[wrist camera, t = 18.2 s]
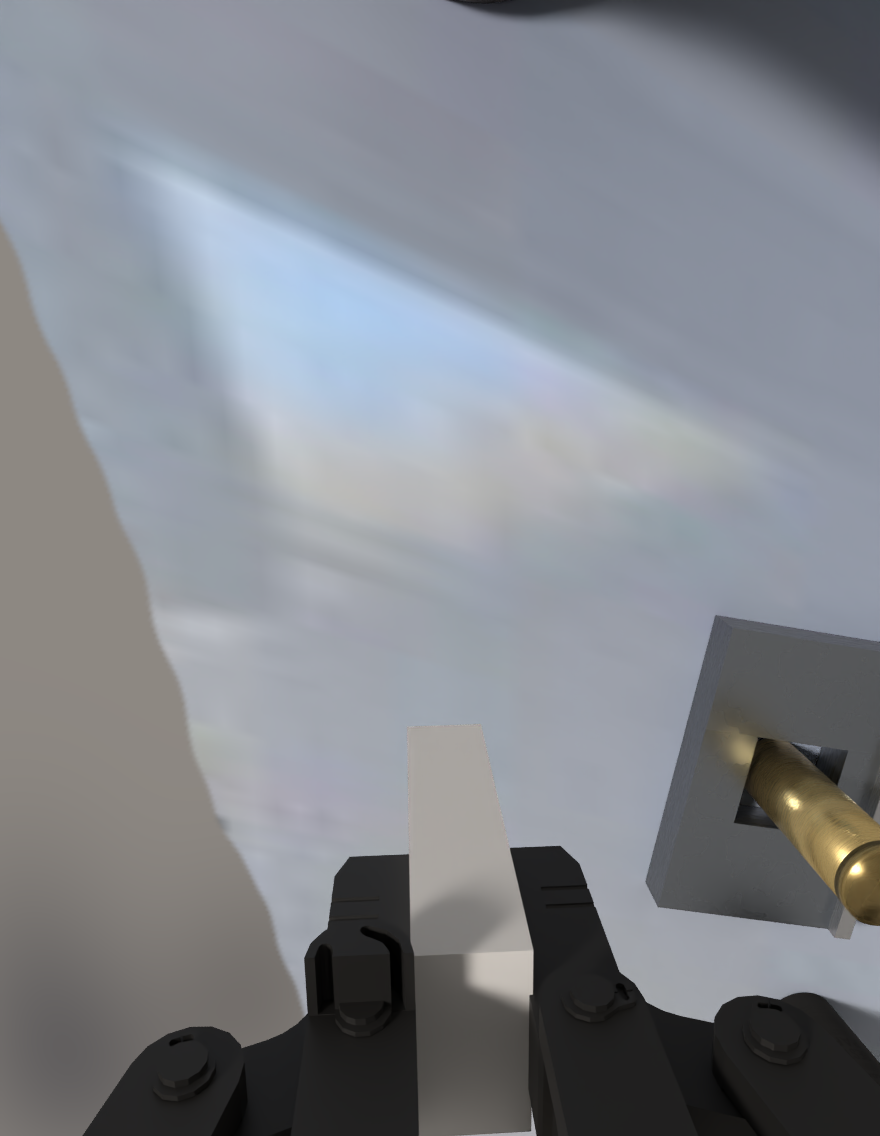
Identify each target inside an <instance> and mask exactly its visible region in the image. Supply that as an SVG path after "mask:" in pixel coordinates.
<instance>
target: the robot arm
mask: <svg viewBox="0 0 880 1136" xmlns="http://www.w3.org/2000/svg"><path fill="white" fill-rule="evenodd" d="M459 1H465V2H474V3H495V2H504V1H511V0H459ZM407 749H408V812H409V854H406V855H382V856H358V857H349V859H348V860H347V861H346V862H345V864H344V865H343V866H342V868H341V869H340V870H339V872H338V873H337V874H336V875H335V878H334V886H333V893H332V903H331V908H330V915H329V922H328V929H327V930H325V931H324V932H323V933H321V934H320V935H319V936H318V937H317V938H316V939H315V940H314V941H313V942H312V943H311V944H310V946H309V949H308V951H307V953H306V955H305V958H304V961H305V977H306V992H307V1008H308V1014H307V1015H306V1016H305V1017H304V1018H303V1019H302V1020H301V1021H300V1022H299V1023H298V1024H297V1025H295V1026H294V1027H292V1028H290V1029H289V1030H288V1031H286V1032H284V1033H283V1034H280V1035H278V1036H276V1037H273V1038H271V1039H269V1040H266V1041H263V1042H260V1043H257V1044H254V1045H251V1046H248V1047H245V1048H242V1049H241V1045H240V1044H239V1043H238V1042H237V1041H236V1040H235V1038H234V1037H233V1036H232V1035H231V1034H230V1033H228V1032H225V1031H223V1030H220V1029H217V1028H214V1027H189V1028H186V1029H182V1030H179V1031H176V1032H173V1033H170V1034H167V1035H166V1036H164V1037H162V1038H161V1039H159V1040H157V1041H156V1042H154V1043H153V1044H151V1045H149V1046H148V1047H147V1048H146V1049H145V1050H144V1051H143V1052H142V1053H141V1054H140V1055H139V1056H138V1057H137V1058H136V1059H135V1061H134V1062H133V1063H132V1064H131V1065H130V1067H129V1068H128V1070H127V1071H126V1073H125V1074H124V1076H123V1077H122V1078H121V1080H120V1081H119V1083H118V1084H117V1086H116V1087H115V1089H114V1090H113V1092H112V1093H111V1095H110V1096H109V1098H108V1099H107V1101H106V1102H105V1103H104V1105H103V1106H102V1108H101V1109H100V1111H99V1112H98V1114H97V1115H96V1117H95V1118H94V1120H93V1121H92V1123H91V1124H90V1126H89V1127H88V1129H87V1130H86V1131H85V1133H84V1135H83V1136H457V1135H475V1134H493V1133H510V1132H528V1131H531V1107H532V1112H533V1118H534V1123H535V1129H536V1134H537V1136H880V1086H879V1085H878V1084H877V1083H876V1082H875V1081H874V1080H873V1079H872V1078H871V1077H870V1076H869V1075H868V1073H867V1072H866V1071H865V1070H864V1069H863V1068H862V1067H861V1066H860V1065H859V1064H858V1063H857V1062H856V1061H855V1060H854V1059H853V1058H852V1057H851V1056H850V1055H849V1054H848V1053H847V1052H846V1051H845V1050H844V1049H843V1048H842V1047H841V1046H840V1045H839V1044H838V1042H837V1041H836V1040H835V1039H834V1038H833V1037H832V1036H831V1035H830V1034H829V1033H828V1032H827V1031H826V1030H825V1029H824V1028H823V1027H822V1026H821V1025H820V1024H819V1023H818V1022H816V1021H815V1020H814V1019H812V1018H811V1017H810V1016H809V1015H807V1014H806V1013H805V1012H804V1011H802V1010H801V1009H798V1008H796V1007H794V1006H792V1005H790V1004H788V1003H785V1002H783V1001H781V1000H778V999H773V998H768V997H763V996H758V995H757V996H745V997H737V998H735V999H733V1000H731V1001H729V1002H727V1003H725V1004H723V1005H722V1006H721V1008H720V1010H719V1011H718V1013H717V1014H716V1016H715V1019H714V1023H711V1022H706V1021H701V1020H697V1019H692V1018H687V1017H682V1016H679V1015H675V1014H672V1013H669V1012H665V1011H663V1010H661V1009H658V1008H656V1007H654V1006H652V1005H650V1004H648V1003H647V1002H646V1001H645V999H644V997H643V996H642V994H641V993H640V991H639V990H638V988H637V987H636V985H635V983H633V982H632V981H631V980H629V979H628V978H627V977H625V976H624V975H623V974H621V973H620V972H619V970H618V967H617V964H616V961H615V959H614V956H613V953H612V951H611V948H610V945H609V943H608V940H607V937H606V934H605V932H604V929H603V926H602V924H601V921H600V918H599V916H598V913H597V910H596V908H595V907H594V902H593V899H592V897H591V894H590V891H589V889H587V883H586V881H585V878H584V875H583V872H582V870H581V867H580V864H579V863H578V862H577V861H576V860H575V859H574V858H573V857H572V856H571V855H569V854H568V853H567V852H566V851H565V850H564V849H563V848H562V847H561V846H545V847H521V848H509V843H508V839H507V835H506V830H505V826H504V822H503V817H502V813H501V809H500V805H499V800H498V796H497V792H496V787H495V783H494V779H493V775H492V770H491V766H490V762H489V757H488V753H487V749H486V744H485V740H484V736H483V732H482V727H481V724H473V725H444V726H415V727H407Z"/></svg>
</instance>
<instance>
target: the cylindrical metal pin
mask: <svg viewBox="0 0 880 1136" xmlns="http://www.w3.org/2000/svg"><path fill="white" fill-rule="evenodd" d="M744 788H745V789H746V790H747V792H748V793H749V794H750V795H751V796H752V797H753V799H754V800H755V801H756V802H757V803H758V805H759V806H760V807H761V808H762V809H763V810H764V812H765V813H766V814H767V815H768V816H769V817H770V819H771V820H772V821H773V822H774V823H775V824H776V826H777V827H778V828H779V829H780V830H781V831H782V833H783V834H784V835H785V836H786V837H787V839H788V840H789V841H790V842H791V843H792V844H793V846H794V847H795V848H796V849H797V850H798V851H799V853H800V854H801V855H802V856H803V857H804V858H805V860H806V861H807V862H808V863H809V864H810V865H811V867H812V868H813V869H814V870H815V871H816V873H817V874H818V875H819V876H820V877H821V878H822V880H823V881H824V882H825V883H826V884H827V885H828V887H829V888H830V889H831V890H832V891H833V892H834V894H835V895H836V896H837V897H838V899H839V901H840V902H841V903H842V905H843V906H844V907H845V908H846V909H847V910H848V912H849V913H850V914H851V915H852V916H853V917H854V918H855V919H857V920H858V921H860V922H862V923H865V924H868V925H874V926H880V825H879V824H878V823H877V822H876V821H875V820H874V819H873V818H871V817H870V816H869V815H868V814H867V813H866V812H865V811H864V810H863V809H862V808H861V807H860V806H858V805H857V804H856V803H855V802H854V801H853V800H852V799H851V798H850V797H849V796H848V795H846V794H845V793H844V792H843V791H842V790H841V789H840V788H839V787H838V786H837V785H836V784H835V783H833V782H832V781H831V780H830V779H829V778H828V777H827V776H826V775H825V774H824V773H823V772H821V771H820V770H819V769H818V768H817V767H816V766H815V765H814V764H813V763H812V762H811V761H809V760H808V759H807V758H806V757H805V756H804V755H803V754H802V753H801V752H800V751H799V750H798V749H796V748H795V747H794V746H793V745H792V744H791V743H789V742H787V741H781V740H774V739H764V740H761V741H759V742H757V743H756V747H755V750H754V754H753V757H752V761H751V764H750V768H749V771H748V775H747V778H746V782H745V785H744Z"/></svg>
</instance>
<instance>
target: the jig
mask: <svg viewBox="0 0 880 1136" xmlns="http://www.w3.org/2000/svg"><path fill="white" fill-rule="evenodd" d="M758 737H761V738H768V739H774V740H781V741H788V742H794V743H801V744H808V745H814V746H821V751H820V754H819V757H818V760H817V764H816V767H817V768H818V769H819V770H820V771H821V772H823V773H824V774H825V775H826V776H827V777H828V778H829V779H830V780H831V781H832V782H833V783H835V784H836V785H837V786H838V787H839V788H840V789H841V790H842V791H843V792H844V793H845V794H846V795H848V796H849V797H850V798H851V799H852V800H853V801H854V802H855V803H856V804H857V805H858V806H860V807H861V808H862V809H863V810H864V811H865V812H866V813H867V814H868V815H869V816H870V817H871V818H873V819H874V820H875V821H876V822H877V823H878V824H879V825H880V642H876V641H870V640H864V639H857V638H851V637H845V636H839V635H833V634H827V633H821V632H815V631H809V630H802V629H796V628H790V627H784V626H778V625H772V624H766V623H760V622H754V621H747V620H741V619H735V618H729V617H723V616H717V615H716V616H715V620H714V623H713V627H712V631H711V635H710V639H709V642H708V646H707V650H706V654H705V658H704V661H703V665H702V669H701V673H700V677H699V680H698V684H697V688H696V692H695V696H694V699H693V703H692V707H691V711H690V715H689V718H688V722H687V726H686V730H685V734H684V737H683V741H682V745H681V749H680V753H679V756H678V760H677V764H676V768H675V772H674V775H673V779H672V783H671V787H670V791H669V794H668V798H667V802H666V806H665V810H664V813H663V817H662V821H661V825H660V829H659V832H658V836H657V840H656V844H655V848H654V851H653V855H652V859H651V863H650V867H649V870H648V874H647V878H646V884H647V886H648V888H649V890H650V892H651V894H652V896H653V898H654V900H655V902H656V904H657V906H658V907H662V908H670V909H677V910H685V911H693V912H701V913H709V914H716V915H724V916H732V917H740V918H747V919H755V920H763V921H771V922H779V923H786V924H794V925H802V926H810V927H817V928H825V929H828V930H829V931H830V933H831V934H832V935H833V936H834V938H842V939H850V937H851V934H852V931H853V928H854V925H855V922H856V919H855V918H854V917H853V916H852V915H851V914H850V913H849V912H848V910H847V909H846V908H845V907H844V906H843V905H842V903H841V902H840V901H839V899H838V897H837V896H836V895H835V894H834V892H833V891H832V890H831V889H830V888H829V887H828V885H827V884H826V883H825V882H824V881H823V880H822V878H821V877H820V876H819V875H818V874H817V873H816V871H815V870H814V869H813V868H812V867H811V865H810V864H809V863H808V862H807V861H806V860H805V858H804V857H803V856H802V855H801V854H800V853H799V851H798V850H797V849H796V848H795V847H794V846H793V844H792V843H791V842H790V841H789V840H788V839H787V837H786V836H785V835H784V834H783V833H782V831H781V830H780V829H779V828H778V827H777V826H776V824H775V823H774V822H773V821H772V820H771V819H770V817H769V816H768V815H767V814H766V813H765V812H764V810H763V809H762V808H758V807H751V806H744V805H739V803H740V799H741V796H742V792H743V789H744V785H745V782H746V778H747V775H748V771H749V768H750V764H751V761H752V757H753V754H754V750H755V747H756V743H757V740H758Z"/></svg>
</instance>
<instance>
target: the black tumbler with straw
mask: <svg viewBox="0 0 880 1136" xmlns="http://www.w3.org/2000/svg"><path fill="white" fill-rule="evenodd" d="M781 1001H783V1002H785V1003H788V1004H790V1005H792V1006H794V1007H796V1008H798V1009H801V1010H802V1011H804V1012H805V1013H806V1014H807V1015H809V1016H810V1017H811V1018H812V1019H814V1020H815V1021H816V1022H818V1023H819V1024H820V1025H821V1026H822V1027H823V1028H824V1029H825V1030H826V1031H827V1032H828V1033H829V1034H830V1035H831V1036H832V1037H833V1038H834V1039H835V1040H836V1041H837V1042H838V1044H839V1045H840V1046H841V1047H842V1048H843V1049H844V1050H845V1051H846V1052H847V1053H848V1054H849V1055H850V1056H851V1057H852V1058H853V1059H854V1060H855V1061H856V1062H857V1063H858V1064H859V1065H860V1066H861V1067H862V1068H863V1069H864V1070H865V1071H866V1072H867V1073H868V1075H869V1076H870V1077H871V1078H872V1079H873V1080H874V1081H875V1082H876V1083H877V1084H878V1085H879V1086H880V1063H879V1062H878V1061H877V1059H876V1058H875V1057H874V1056H873V1055H872V1054H871V1052H870V1051H869V1050H868V1049H867V1048H866V1047H865V1045H864V1044H863V1043H862V1042H861V1041H860V1039H859V1038H858V1037H857V1036H856V1035H855V1034H854V1032H853V1031H852V1030H851V1029H850V1028H849V1027H848V1025H847V1024H846V1023H845V1022H844V1021H843V1019H842V1018H841V1017H840V1016H839V1015H838V1014H837V1012H836V1011H835V1010H834V1009H833V1008H832V1007H831V1005H830V1004H829V1003H828V1002H827V1001H826V1000H825V999H823V998H822V997H820V996H818V995H815V994H811V993H797V994H793V995H790V996H787V997H785V998H783V999H782V1000H781Z"/></svg>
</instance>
